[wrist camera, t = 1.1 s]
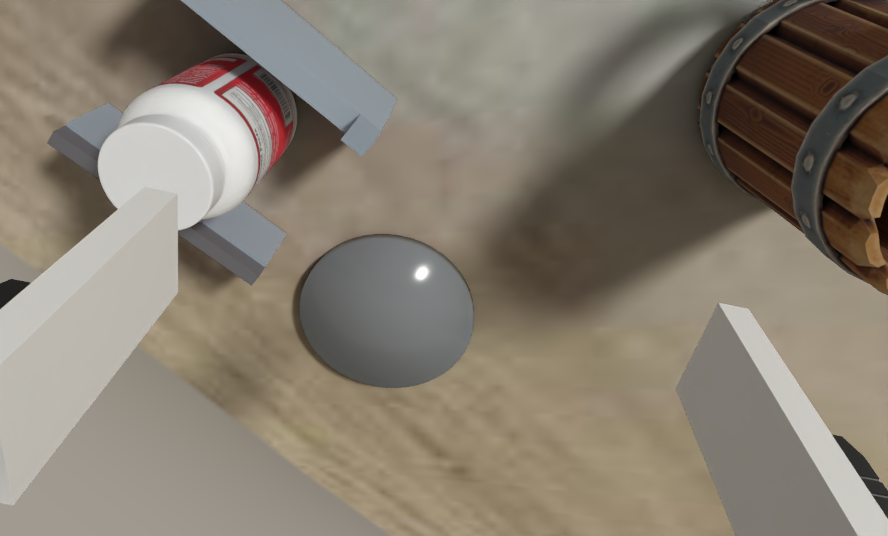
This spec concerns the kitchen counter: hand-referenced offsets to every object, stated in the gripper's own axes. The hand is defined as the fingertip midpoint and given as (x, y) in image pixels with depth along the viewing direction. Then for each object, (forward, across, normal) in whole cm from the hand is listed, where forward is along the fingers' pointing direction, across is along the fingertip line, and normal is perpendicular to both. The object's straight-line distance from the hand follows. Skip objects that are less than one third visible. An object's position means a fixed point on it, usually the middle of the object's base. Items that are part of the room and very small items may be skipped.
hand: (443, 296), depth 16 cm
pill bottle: (+22, -11, -4) cm, 25 cm away
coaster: (+21, -2, -15) cm, 26 cm away
